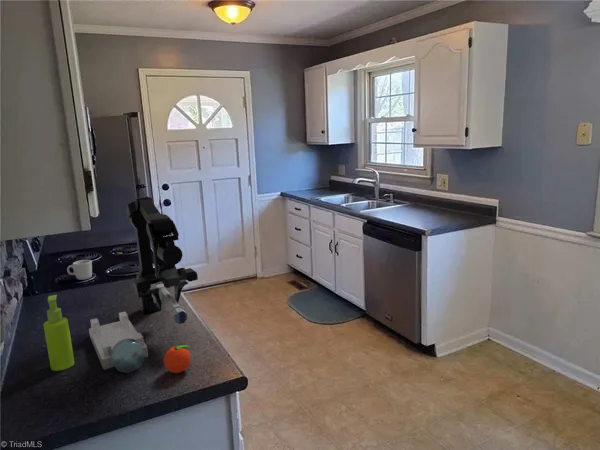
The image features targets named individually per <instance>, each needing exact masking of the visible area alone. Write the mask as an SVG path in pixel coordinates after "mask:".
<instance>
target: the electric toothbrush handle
mask: <svg viewBox="0 0 600 450" xmlns="http://www.w3.org/2000/svg"><path fill="white" fill-rule="evenodd" d="M157 288H158V289H159V296H160V300H161V305H164V307H165V308H166V310H167V312H168V313H169V317H170V318H171V319H173V321H174V322H175V323H176V324H177V325H181V324H184V323H185V322H187V320H188V313H187V312H186V311H185V309H186V308H185V307H183V306H182V305H181V304H180V303H179V302H177V301H176V300H175V297H173V296H172V295H171V293H170V292H169V290H167V288H165V287H164V284H163V283H162V284H157ZM152 297H153V301H154V303H157V302H156V300H155V298H154V296H153V294H152Z"/></svg>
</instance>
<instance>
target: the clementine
mask: <svg viewBox="0 0 600 450" xmlns="http://www.w3.org/2000/svg"><path fill="white" fill-rule="evenodd" d="M187 347H188V348H191V350H193V348H192V347H191V346H189V345H187V344H185V345H184V344H183V345H182V344H181V345H175V346H172V347H170V348H169V349H168V350H167V351H166V353H165V354H164V357H163V363H164V367H165V368H166V370H167V371H169V372H170V373H173V374H181V373H182V372H184V371H185V370H187V369H188V368H189V366H190V364H191V359H192V356H191V353H190V351H189V350H188V349H187Z"/></svg>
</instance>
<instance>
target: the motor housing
mask: <svg viewBox="0 0 600 450" xmlns="http://www.w3.org/2000/svg"><path fill="white" fill-rule="evenodd" d="M118 317H119V318H118V319H119V320H118V321H115V322H111V323H106V324H102V325H101V324H100V322H99V319H98V317H96V318H91V319H90V320H89V321H90V328H88V331H89V338H90V340H91V343H92V346H93V347H94V350H95V352H96V354H97V357H98V360H99V362H100V365H101V367H102V369H103V370H104V371H105V370H107V369H112V368H115V369H116V370H117V371H118V372H120V373H125V374H126V373H127V374H128V373H132V372H135V371H137V370H138V369H139V368H141V367H142V365H143V364H144V362H145V358H148V357H149V351H148V346H147V344H146V343H145V340H144V336H143V335H142V333H141V332H138V330H136V328H135V327H134V325H133V324H132V322H131V321H130V319H129V315H128V313H127V312H126V311H121V312H118Z"/></svg>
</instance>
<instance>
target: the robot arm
mask: <svg viewBox="0 0 600 450" xmlns="http://www.w3.org/2000/svg"><path fill="white" fill-rule="evenodd" d="M125 212H126V217H127V219H128V221H129V224H131V225H132V227H133V229H134V230H135V231H134V232H135V239H136V248H137V253H138V262H139V269H138V271H137V274H136V278H135V279H133V281H132V287H133V289H134V294H135V296H136V297H137V298H140V302H141V306H140V307H139V310H140V311H141V312H142V314H143V315H145V314H149V313H153V312H158V311H161V310H162V304H161V300H160V296H159V289H158V288H157V284H162V283H163V284H164V287H165V288H166V289H169V288H172V287H173V289H174V299H175V300H176V301H177V302H178V303H179V301H180V299H181V298H180V297H181V294H182V291H183V288H184V287H185V286H187V285H188V284H189V282H193V281H197V280H198V279H199V278H198V272H197V271H195V269H194V270H193V269H192V268H191V267H190V268H185V267H179V268H177V267H176V265H177V264H178V263H180V262H181V260H183V251H182V249H181V248H180V247H178V246H177V245H176V244H175V241H179V234H180V233H179V232H178V229H177V226H176V224H175V223H174V220H172V218H171V217H170V216H169V215H167V214H165V213H161V212H160V211H159V209H158V208H157V207H156V205H155V204H154V202H153V199H152V197H151V196H142V197H141V196H140V197H136V198H135V199H134V201H132V202H130V203H128V204H127V206H126V209H125ZM151 245H152V246H151ZM152 294H153V296H154V298H155V300H156V302H157V303H154V301H153V297H152Z"/></svg>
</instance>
